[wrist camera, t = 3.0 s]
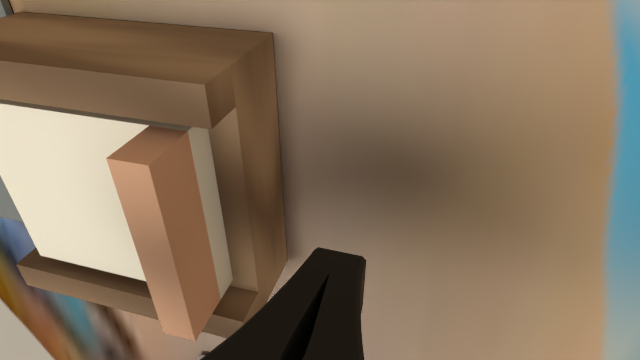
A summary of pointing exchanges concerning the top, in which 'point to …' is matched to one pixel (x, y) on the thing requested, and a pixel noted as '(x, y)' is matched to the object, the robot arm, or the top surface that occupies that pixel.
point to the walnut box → (168, 107)
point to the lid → (122, 202)
